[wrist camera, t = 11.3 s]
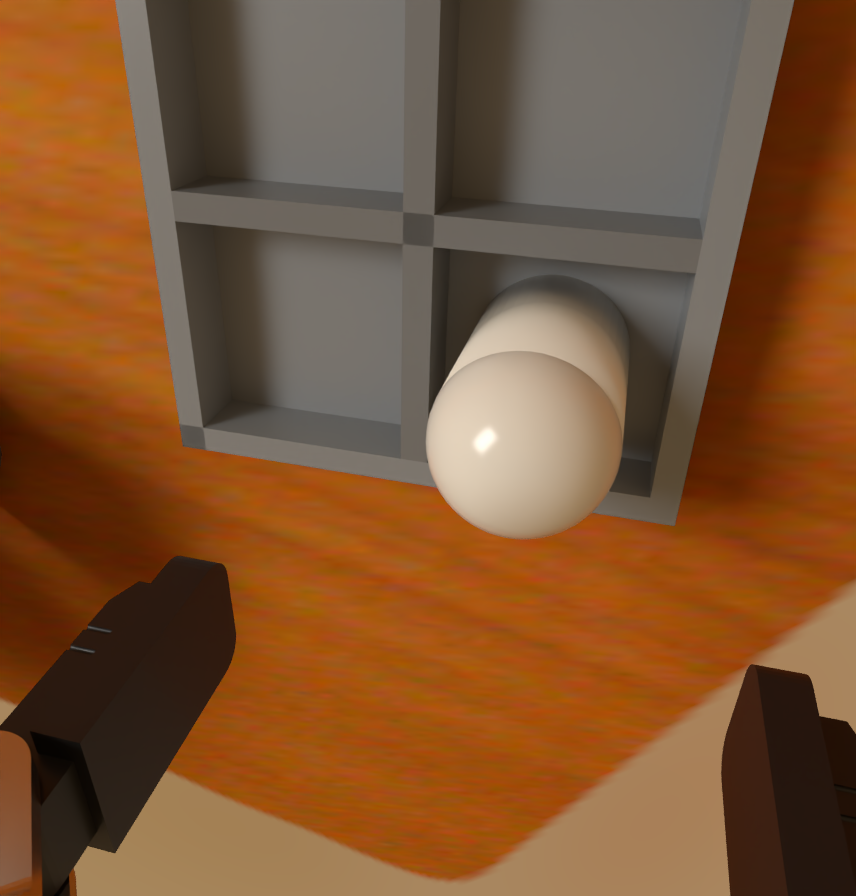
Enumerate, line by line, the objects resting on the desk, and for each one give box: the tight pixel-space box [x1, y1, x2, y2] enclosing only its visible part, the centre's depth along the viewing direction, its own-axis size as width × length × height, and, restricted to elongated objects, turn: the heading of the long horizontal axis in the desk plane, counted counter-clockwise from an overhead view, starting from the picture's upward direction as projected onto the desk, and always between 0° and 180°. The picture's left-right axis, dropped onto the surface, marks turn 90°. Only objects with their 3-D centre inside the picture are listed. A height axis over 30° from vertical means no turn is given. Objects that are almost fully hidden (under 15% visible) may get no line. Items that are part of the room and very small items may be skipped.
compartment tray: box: [115, 0, 794, 526], centre depth 21 cm, size 15×15×2 cm
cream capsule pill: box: [426, 274, 630, 539], centre depth 19 cm, size 4×4×8 cm
